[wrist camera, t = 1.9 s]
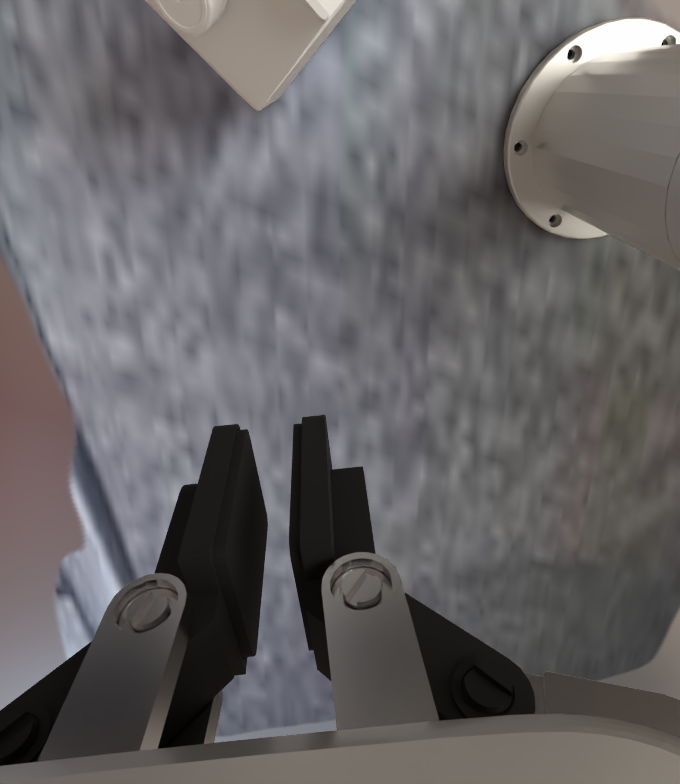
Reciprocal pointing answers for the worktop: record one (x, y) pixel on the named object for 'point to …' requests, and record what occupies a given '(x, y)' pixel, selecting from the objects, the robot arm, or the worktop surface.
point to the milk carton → (254, 38)
